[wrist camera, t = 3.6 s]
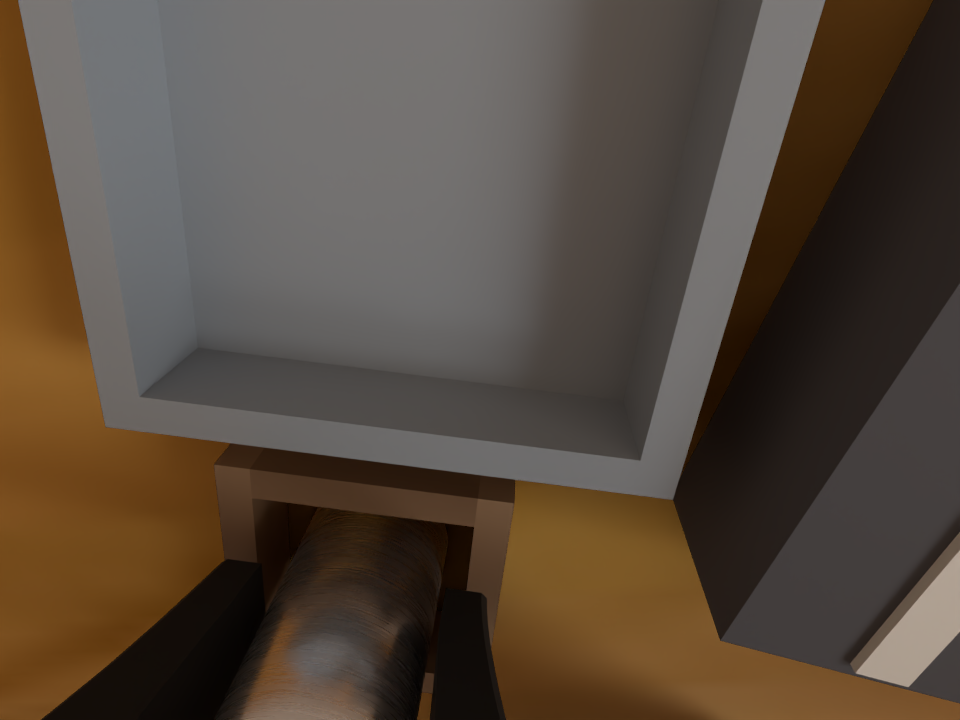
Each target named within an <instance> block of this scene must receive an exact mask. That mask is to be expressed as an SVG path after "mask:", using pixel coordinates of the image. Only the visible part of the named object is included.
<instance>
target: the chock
mask: <svg viewBox="0 0 960 720" xmlns="http://www.w3.org/2000/svg"><path fill="white" fill-rule="evenodd" d="M673 501H674V504H675V507H676V510H677V513H678V516H679V519H680V522H681V525H682V528H683V531H684V534H685V537H686V540H687V543H688V546H689V549H690V552H691V555H692V558H693V561H694V564H695V567H696V569H697V572H698V575H699V578H700V581H701V584H702V587H703V590H704V593H705V596H706V599H707V602H708V605H709V608H710V611H711V614H712V617H713V620H714V623H715V626H716V629H717V632H718V635H719V638H720V641H724V642H728V643H731V644H735V645H739V646H743V647H747V648H750V649H754V650H758V651H762V652H766V653H770V654H773V655H777V656H781V657H785V658H789V659H792V660H796V661H800V662H804V663H808V664H811V665H815V666H819V667H823V668H827V669H831V670H834V671H838V672H842V673H846V674H850V675H853V676H857V677H861V678H865V679H869V680H873V681H876V682H880V683H884V684H888V685H892V686H895V687H899V688H903V689H907V690H911V691H915V692H918V693H922V694H926V695H930V696H934V697H937V698H941V699H945V700H949V701H953V702H956V703H960V0H933V2H932V4H931V6H930V8H929V10H928V12H927V14H926V15H925V17H924V19H923V21H922V23H921V25H920V27H919V29H918V31H917V32H916V34H915V36H914V38H913V40H912V42H911V44H910V46H909V48H908V49H907V51H906V53H905V55H904V57H903V59H902V61H901V63H900V64H899V66H898V68H897V70H896V72H895V74H894V76H893V78H892V80H891V81H890V83H889V85H888V87H887V89H886V91H885V93H884V95H883V96H882V98H881V100H880V102H879V104H878V106H877V108H876V110H875V112H874V113H873V115H872V117H871V119H870V121H869V123H868V125H867V127H866V129H865V130H864V132H863V134H862V136H861V138H860V140H859V142H858V144H857V145H856V147H855V149H854V151H853V153H852V155H851V157H850V159H849V161H848V162H847V164H846V166H845V168H844V170H843V172H842V174H841V176H840V177H839V179H838V181H837V183H836V185H835V187H834V189H833V191H832V193H831V194H830V196H829V198H828V200H827V202H826V204H825V206H824V208H823V210H822V211H821V213H820V215H819V217H818V219H817V221H816V223H815V225H814V226H813V228H812V230H811V232H810V234H809V236H808V238H807V240H806V242H805V243H804V245H803V247H802V249H801V251H800V253H799V255H798V257H797V258H796V260H795V262H794V264H793V266H792V268H791V270H790V272H789V274H788V275H787V277H786V279H785V281H784V283H783V285H782V287H781V289H780V291H779V292H778V294H777V296H776V298H775V300H774V302H773V304H772V306H771V307H770V309H769V311H768V313H767V315H766V317H765V319H764V321H763V323H762V324H761V326H760V328H759V330H758V332H757V334H756V336H755V338H754V339H753V341H752V343H751V345H750V347H749V349H748V351H747V353H746V355H745V356H744V358H743V360H742V362H741V364H740V366H739V368H738V370H737V372H736V373H735V375H734V377H733V379H732V381H731V383H730V385H729V387H728V388H727V390H726V392H725V394H724V396H723V398H722V400H721V402H720V404H719V405H718V407H717V409H716V411H715V413H714V415H713V417H712V419H711V420H710V422H709V424H708V426H707V428H706V430H705V432H704V434H703V436H702V437H701V439H700V441H699V443H698V445H697V447H696V449H695V451H694V452H693V454H692V456H691V458H690V460H689V462H688V464H687V466H686V468H685V469H684V471H683V473H682V475H681V477H680V479H679V481H678V485H677V488H676V491H675V495H674V498H673Z"/></svg>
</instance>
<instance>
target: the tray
mask: <svg viewBox="0 0 960 720" xmlns="http://www.w3.org/2000/svg"><path fill="white" fill-rule="evenodd" d="M18 3H19V8H20V12H21V17H22V22H23V27H24V32H25V37H26V42H27V47H28V51H29V56H30V61H31V66H32V71H33V76H34V81H35V86H36V90H37V95H38V100H39V105H40V110H41V115H42V120H43V125H44V129H45V134H46V139H47V144H48V149H49V154H50V159H51V164H52V168H53V173H54V178H55V183H56V188H57V193H58V198H59V203H60V207H61V212H62V217H63V222H64V227H65V232H66V237H67V242H68V246H69V251H70V256H71V261H72V266H73V271H74V276H75V281H76V285H77V290H78V295H79V300H80V305H81V310H82V315H83V320H84V324H85V329H86V334H87V339H88V344H89V349H90V354H91V359H92V363H93V368H94V373H95V378H96V383H97V388H98V393H99V398H100V402H101V407H102V412H103V417H104V422H105V427H109V428H117V429H125V430H132V431H140V432H148V433H156V434H164V435H171V436H179V437H187V438H195V439H203V440H210V441H218V442H226V443H234V444H241V445H249V446H257V447H265V448H273V449H280V450H288V451H296V452H304V453H312V454H319V455H327V456H335V457H343V458H350V459H358V460H366V461H374V462H382V463H389V464H397V465H405V466H413V467H420V468H428V469H436V470H444V471H452V472H459V473H467V474H475V475H483V476H491V477H498V478H506V479H514V480H522V481H529V482H537V483H545V484H553V485H561V486H568V487H576V488H584V489H592V490H600V491H607V492H615V493H623V494H631V495H638V496H646V497H654V498H662V499H670V500H673V498H674V495H675V491H676V488H677V485H678V481H679V478H680V475H681V472H682V468H683V465H684V462H685V459H686V455H687V452H688V449H689V445H690V442H691V439H692V436H693V432H694V429H695V426H696V422H697V419H698V416H699V413H700V409H701V406H702V403H703V400H704V396H705V393H706V390H707V386H708V383H709V380H710V377H711V373H712V370H713V367H714V364H715V360H716V357H717V354H718V350H719V347H720V344H721V341H722V337H723V334H724V331H725V327H726V324H727V321H728V318H729V314H730V311H731V308H732V305H733V301H734V298H735V295H736V291H737V288H738V285H739V282H740V278H741V275H742V272H743V269H744V265H745V262H746V259H747V255H748V252H749V249H750V246H751V242H752V239H753V236H754V232H755V229H756V226H757V223H758V219H759V216H760V213H761V210H762V206H763V203H764V200H765V196H766V193H767V190H768V187H769V183H770V180H771V177H772V174H773V170H774V167H775V164H776V160H777V157H778V154H779V151H780V147H781V144H782V141H783V137H784V134H785V131H786V128H787V124H788V121H789V118H790V115H791V111H792V108H793V105H794V101H795V98H796V95H797V92H798V88H799V85H800V82H801V79H802V75H803V72H804V69H805V65H806V62H807V59H808V56H809V52H810V49H811V46H812V42H813V39H814V36H815V33H816V29H817V26H818V23H819V20H820V16H821V13H822V10H823V6H824V3H825V0H18Z"/></svg>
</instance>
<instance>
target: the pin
mask: <svg viewBox="0 0 960 720" xmlns="http://www.w3.org/2000/svg"><path fill="white" fill-rule="evenodd" d="M447 547H448V536H447V531H446V528H445V524H444V523H440V522H432V521H424V520H417V519H409V518H401V517H394V516H386V515H378V514H371V513H363V512H355V511H348V510H340V509H332V508H325V507H318V508H317V510H316V512H315V514H314V516H313V518H312V520H311V522H310V524H309V526H308V528H307V530H306V532H305V534H304V536H303V538H302V540H301V543H300V545H299V547H298V549H297V551H296V553H295V555H294V557H293V559H292V561H291V563H290V565H289V567H288V569H287V571H286V573H285V575H284V577H283V579H282V581H281V583H280V585H279V587H278V590H277V592H276V594H275V596H274V598H273V600H272V602H271V604H270V606H269V608H268V610H267V612H266V614H265V616H264V618H263V620H262V622H261V624H260V626H259V628H258V630H257V632H256V634H255V637H254V639H253V641H252V643H251V645H250V647H249V649H248V651H247V653H246V655H245V657H244V659H243V661H242V663H241V665H240V667H239V669H238V671H237V673H236V675H235V677H234V679H233V682H232V684H231V686H230V688H229V690H228V692H227V694H226V696H225V698H224V700H223V702H222V704H221V706H220V708H219V710H218V712H217V714H216V716H215V718H214V720H417V717H418V711H419V705H420V700H421V694H422V688H423V683H424V677H425V671H426V666H427V660H428V654H429V649H430V643H431V637H432V632H433V626H434V620H435V615H436V609H437V604H438V598H439V592H440V587H441V581H442V575H443V570H444V564H445V558H446V553H447Z"/></svg>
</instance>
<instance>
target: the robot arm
mask: <svg viewBox="0 0 960 720" xmlns="http://www.w3.org/2000/svg"><path fill="white" fill-rule="evenodd" d="M265 614H266V611H265V599H264V586H263V574H262V563H254V562H247V561H239V560H232V559H226V560H225V561H224V562H222V563H221V564H220V565H219V566H218V567H216V568H215V569H214V570H213V571H212V572H211V573H210V574H209V575H208V576H207V577H206V578H205V579H204V580H203V581H201V582H200V583H199V584H198V585H197V586H196V587H195V588H194V589H193V590H192V591H191V592H190V593H189V594H188V595H186V596H185V597H184V598H183V599H182V600H181V601H180V602H179V603H178V604H177V605H176V606H174V607H173V608H172V609H171V610H170V611H169V612H168V613H167V614H166V615H165V616H163V617H162V618H161V619H160V620H159V621H158V622H157V623H156V624H155V625H154V626H152V627H151V628H150V629H149V630H148V631H147V632H146V633H144V634H143V635H142V636H141V637H140V638H139V639H138V640H136V641H135V642H134V643H133V644H132V645H131V646H130V647H128V648H127V649H126V650H125V651H124V652H123V653H122V654H120V655H119V656H118V657H117V658H116V659H115V660H114V661H112V662H111V663H110V664H109V665H108V666H106V667H105V668H104V669H103V670H102V671H101V672H99V673H98V674H97V675H96V676H94V677H93V678H92V679H91V680H89V681H88V682H87V683H86V684H85V685H83V686H82V687H81V688H80V689H78V690H77V691H76V692H75V693H73V694H72V695H71V696H70V697H69V698H67V699H66V700H65V701H64V702H62V703H61V704H60V705H59V706H57V707H56V708H55V709H54V710H52V711H51V712H50V713H49V714H47V715H46V716H45V717H44V718H42V719H41V720H214V718H215V716H216V714H217V712H218V710H219V708H220V706H221V704H222V702H223V700H224V698H225V696H226V694H227V692H228V690H229V688H230V686H231V684H232V682H233V679H234V677H235V675H236V673H237V671H238V669H239V667H240V665H241V663H242V661H243V659H244V657H245V655H246V653H247V651H248V649H249V647H250V645H251V643H252V641H253V639H254V637H255V634H256V632H257V630H258V628H259V626H260V624H261V622H262V620H263V618H264V616H265ZM430 720H506V718H505V713H504V709H503V705H502V701H501V697H500V692H499V688H498V683H497V678H496V673H495V668H494V662H493V656H492V651H491V644H490V637H489V628H488V616H487V598H486V597H485V596H484V595H483V594H482V593H480V592H472V591H465V590H457V589H450V588H446V592H445V597H444V603H443V608H442V614H441V619H440V625H439V634H438V644H437V653H436V663H435V673H434V683H433V693H432V703H431V713H430Z"/></svg>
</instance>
